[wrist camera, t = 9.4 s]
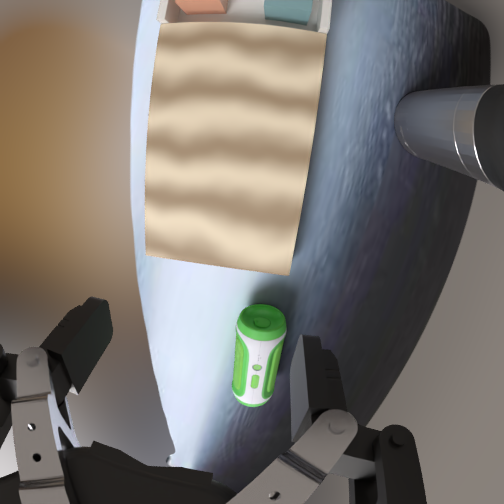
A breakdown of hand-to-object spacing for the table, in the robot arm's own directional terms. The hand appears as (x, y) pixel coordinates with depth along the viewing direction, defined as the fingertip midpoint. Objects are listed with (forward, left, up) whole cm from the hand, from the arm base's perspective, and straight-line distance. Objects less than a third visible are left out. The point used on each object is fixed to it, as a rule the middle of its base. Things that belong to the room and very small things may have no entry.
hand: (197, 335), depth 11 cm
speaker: (+15, +21, -29) cm, 39 cm away
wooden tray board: (-1, -6, -28) cm, 29 cm away
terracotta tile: (-10, -21, -25) cm, 34 cm away
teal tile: (-17, -14, -25) cm, 33 cm away
